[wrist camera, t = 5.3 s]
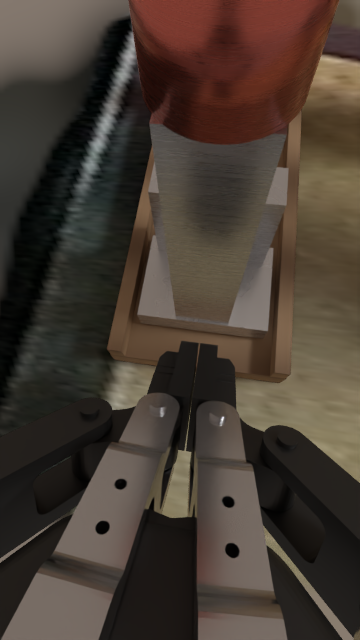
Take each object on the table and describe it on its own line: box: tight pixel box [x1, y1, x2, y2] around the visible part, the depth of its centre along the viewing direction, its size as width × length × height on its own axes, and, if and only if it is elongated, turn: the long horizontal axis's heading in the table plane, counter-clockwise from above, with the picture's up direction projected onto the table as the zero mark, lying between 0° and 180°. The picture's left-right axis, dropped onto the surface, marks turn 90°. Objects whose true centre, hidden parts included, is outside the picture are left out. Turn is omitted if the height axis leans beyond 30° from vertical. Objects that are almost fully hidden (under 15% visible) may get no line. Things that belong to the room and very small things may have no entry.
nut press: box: [107, 109, 302, 383], centre depth 22 cm, size 24×10×6 cm, turn 172°
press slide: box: [128, 0, 339, 339], centre depth 13 cm, size 6×7×16 cm
